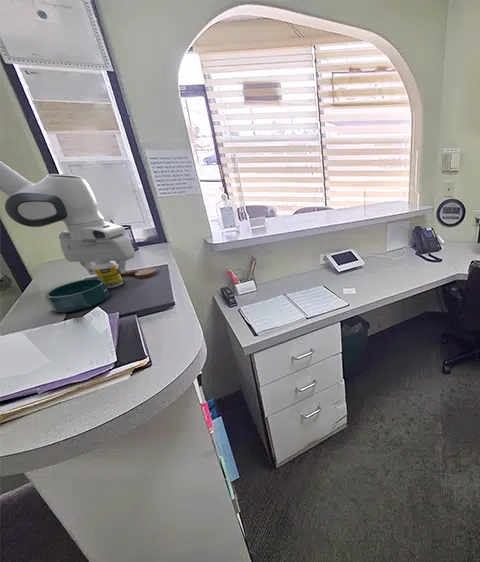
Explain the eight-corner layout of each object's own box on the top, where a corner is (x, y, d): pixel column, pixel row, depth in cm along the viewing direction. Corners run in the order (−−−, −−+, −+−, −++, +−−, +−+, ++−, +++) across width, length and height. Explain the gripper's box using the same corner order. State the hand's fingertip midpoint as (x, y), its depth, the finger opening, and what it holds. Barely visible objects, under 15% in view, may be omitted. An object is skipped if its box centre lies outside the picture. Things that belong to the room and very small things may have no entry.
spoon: (90, 279, 105) (88, 275, 104) (105, 272, 111) (103, 268, 110) (148, 278, 104) (147, 273, 103) (160, 271, 109) (159, 267, 108)
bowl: (41, 314, 84) (31, 298, 81) (82, 293, 95) (75, 278, 93) (83, 313, 83) (75, 297, 81) (120, 292, 94) (114, 277, 92)
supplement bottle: (106, 290, 96) (93, 261, 92) (100, 286, 99) (86, 258, 95) (126, 283, 100) (114, 255, 96) (119, 280, 103) (107, 252, 99)
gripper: (46, 234, 90) (68, 278, 96) (112, 232, 88) (130, 276, 94) (67, 229, 95) (86, 270, 101) (129, 227, 94) (145, 268, 100)
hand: (108, 273), depth 98 cm, fingers open, 8 cm apart
